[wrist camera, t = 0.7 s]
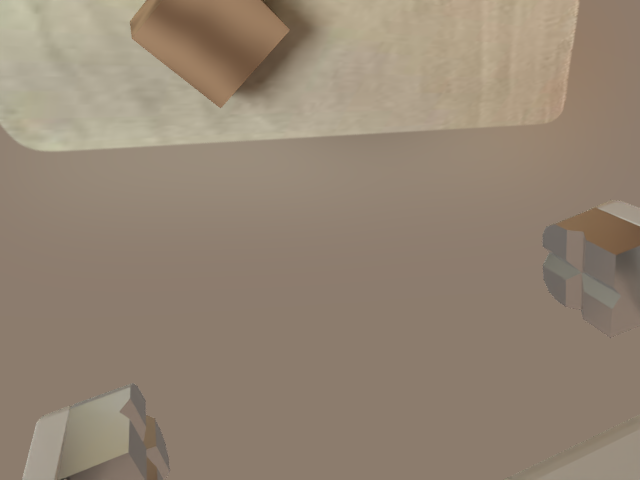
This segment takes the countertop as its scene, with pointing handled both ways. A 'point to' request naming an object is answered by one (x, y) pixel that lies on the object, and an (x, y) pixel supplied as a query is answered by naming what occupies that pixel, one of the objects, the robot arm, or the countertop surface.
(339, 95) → the countertop surface
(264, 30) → the walnut block
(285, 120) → the countertop surface
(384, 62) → the countertop surface
